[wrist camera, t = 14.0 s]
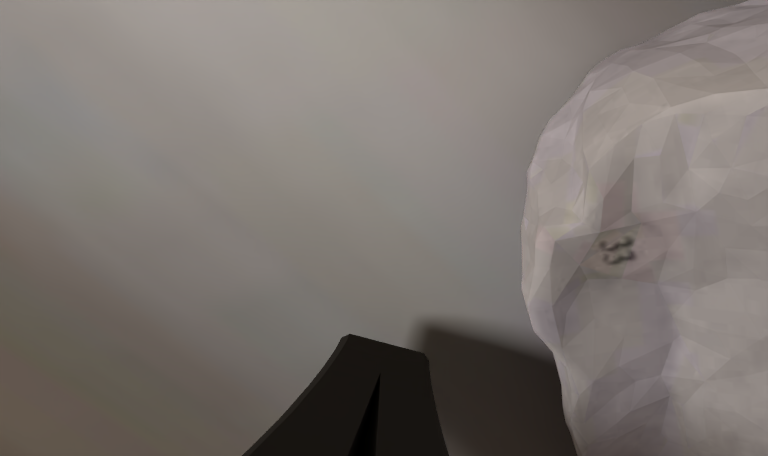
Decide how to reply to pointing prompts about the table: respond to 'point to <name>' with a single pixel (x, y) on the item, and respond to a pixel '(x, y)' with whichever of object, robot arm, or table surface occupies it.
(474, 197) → the table surface
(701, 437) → the stone block
